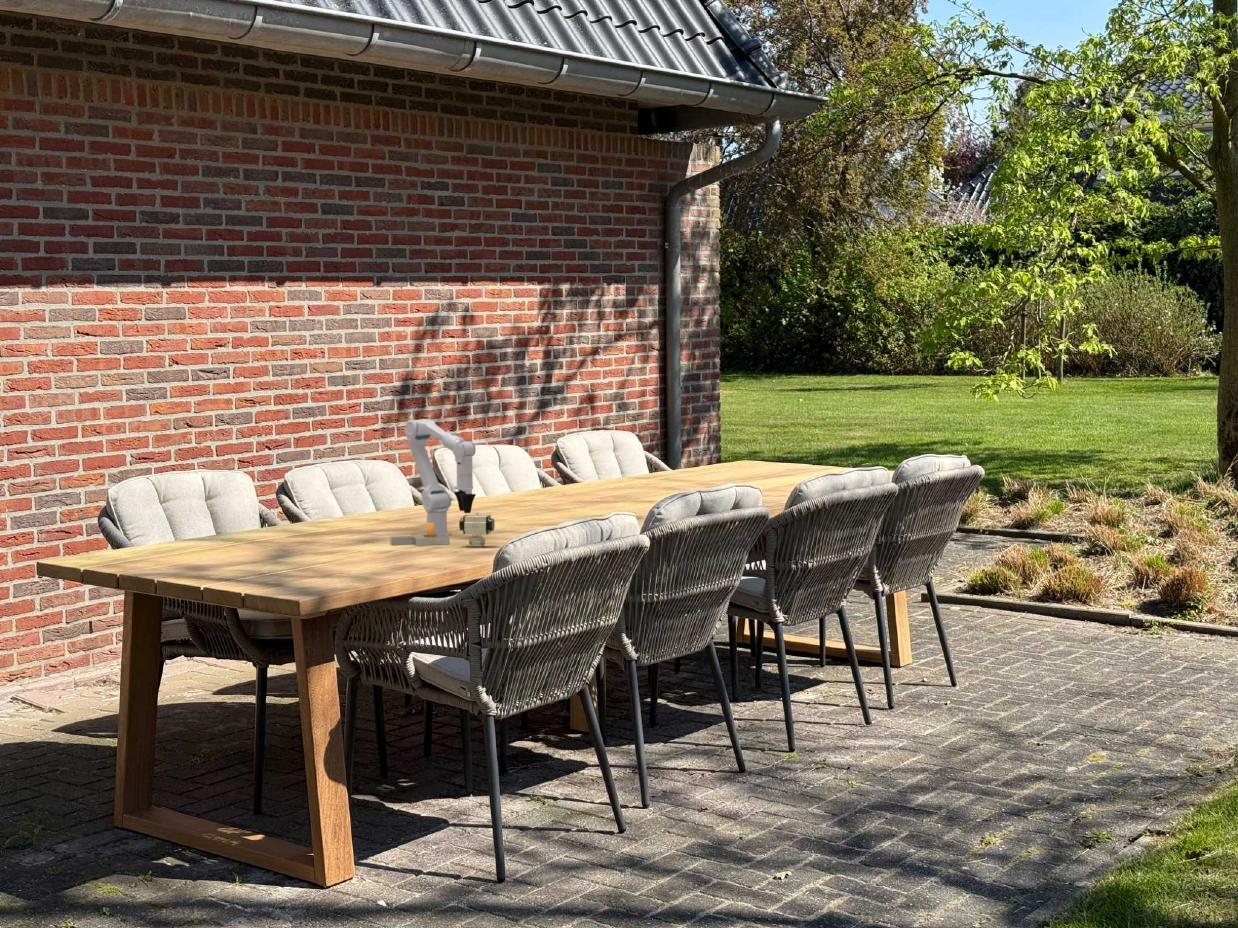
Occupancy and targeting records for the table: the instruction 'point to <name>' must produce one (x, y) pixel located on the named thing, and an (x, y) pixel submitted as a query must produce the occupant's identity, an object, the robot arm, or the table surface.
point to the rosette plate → (421, 539)
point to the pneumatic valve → (476, 527)
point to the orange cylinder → (430, 529)
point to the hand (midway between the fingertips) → (465, 511)
